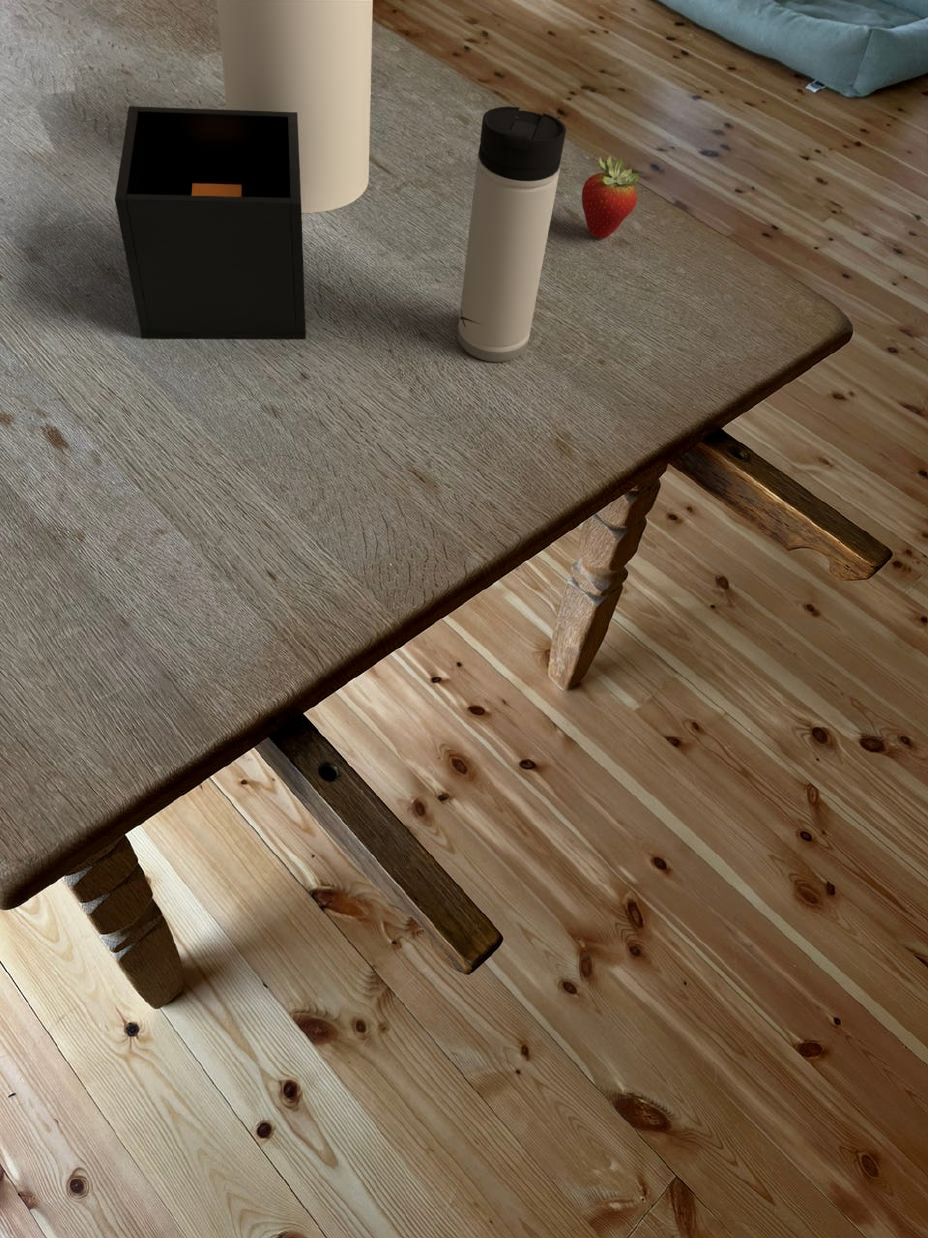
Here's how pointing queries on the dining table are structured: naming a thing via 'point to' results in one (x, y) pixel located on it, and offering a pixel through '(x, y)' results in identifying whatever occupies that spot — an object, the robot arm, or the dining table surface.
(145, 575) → the dining table surface
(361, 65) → the canister
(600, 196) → the fruit
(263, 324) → the bin
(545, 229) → the travel mug
